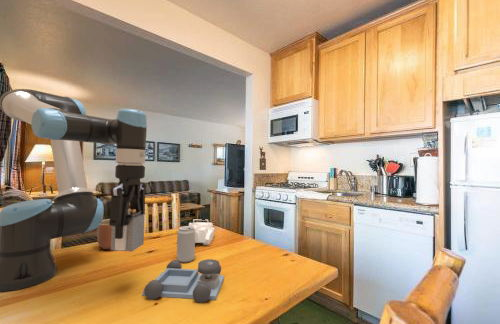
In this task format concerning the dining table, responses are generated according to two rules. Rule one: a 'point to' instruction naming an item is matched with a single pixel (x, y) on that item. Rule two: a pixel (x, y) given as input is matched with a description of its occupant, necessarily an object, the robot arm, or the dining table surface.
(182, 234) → the beverage can
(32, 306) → the dining table surface
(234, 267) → the dining table surface
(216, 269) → the spare wheel
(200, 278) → the chassis
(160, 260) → the dining table surface
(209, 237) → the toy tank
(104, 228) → the planter
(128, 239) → the twin lamp box
